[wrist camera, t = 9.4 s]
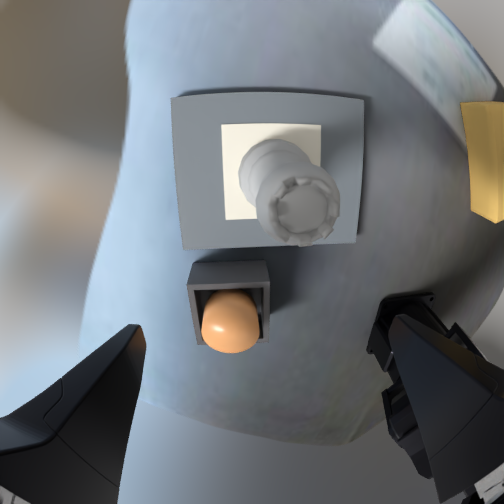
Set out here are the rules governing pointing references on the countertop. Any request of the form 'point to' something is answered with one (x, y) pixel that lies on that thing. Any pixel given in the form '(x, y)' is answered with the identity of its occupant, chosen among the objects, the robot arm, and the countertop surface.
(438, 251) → the countertop surface
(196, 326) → the button housing
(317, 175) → the rook chess piece
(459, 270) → the countertop surface
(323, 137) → the slate board
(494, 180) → the rubber stamp
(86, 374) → the robot arm
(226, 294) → the button
